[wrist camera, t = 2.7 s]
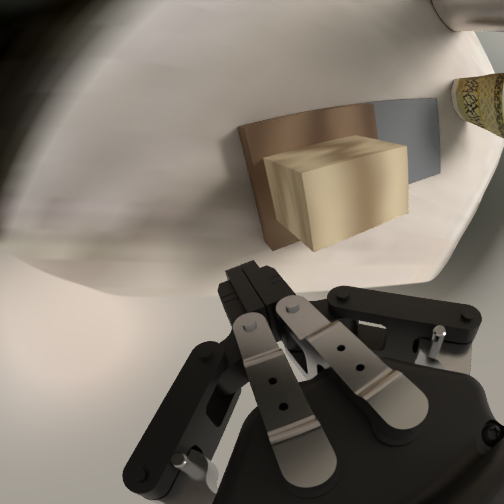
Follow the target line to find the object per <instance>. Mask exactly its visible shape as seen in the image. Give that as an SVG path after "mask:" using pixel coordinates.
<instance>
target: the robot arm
mask: <svg viewBox="0 0 504 504" xmlns="http://www.w3.org/2000/svg"><path fill="white" fill-rule="evenodd" d="M432 3H433V6H434V8H435V10H436V12H437V13H438V15H439V17H440V18H441V19H442V21H443V22H444V23H445V24H446V25H447V26H448V27H449V28H450V29H452V30H453V31H494V32H504V0H432ZM225 272H226V276H227V279H228V281H225V282H223V283H220V284H219V287H218V294H219V296H220V299H221V302H222V304H223V307H224V309H225V312H226V314H227V317H228V319H229V321H230V324H231V326H232V330H231V333H230V334H229V336H228V337H227V338H226V339H225V340H223V341H222V342H220V343H217V342H214V341H207V342H203V343H201V344H199V345H197V346H196V347H195V348H194V349H193V350H192V352H191V354H190V356H189V357H188V359H187V360H186V362H185V364H184V366H183V367H182V369H181V371H180V372H179V374H178V376H177V378H176V379H175V381H174V383H173V385H172V386H171V388H170V390H169V391H168V393H167V395H166V397H165V398H164V400H163V402H162V403H161V405H160V407H159V409H158V410H157V412H156V414H155V416H154V417H153V419H152V421H151V423H150V424H149V426H148V428H147V429H146V431H145V433H144V435H143V436H142V438H141V440H140V442H139V443H138V445H137V447H136V448H135V450H134V452H133V454H132V455H131V457H130V459H129V461H128V462H127V464H126V466H125V468H124V470H123V474H122V476H123V482H124V484H125V486H126V487H127V488H128V489H129V490H130V491H132V492H134V493H137V494H139V495H141V496H143V497H144V498H146V499H148V500H151V501H153V502H156V503H159V504H504V426H503V425H501V424H499V423H498V422H497V421H496V420H495V418H494V416H493V414H492V412H491V410H490V408H489V405H488V402H487V398H486V394H485V391H484V389H483V387H482V386H481V384H480V383H479V382H478V381H477V380H475V378H473V377H471V376H470V367H471V353H472V343H473V340H474V338H475V336H476V334H477V331H478V329H479V326H480V324H481V321H482V317H481V314H480V312H479V311H478V310H477V309H476V308H475V307H473V306H471V305H467V304H460V303H453V302H446V301H439V300H433V299H426V298H419V297H412V296H406V295H400V294H394V293H387V292H380V291H375V290H369V289H363V288H357V287H350V286H339V287H335V288H333V289H332V290H331V291H330V292H329V293H328V295H327V299H323V300H318V301H308V300H306V299H305V298H304V297H302V296H298V295H296V294H295V293H294V292H293V291H292V289H291V288H290V287H289V286H288V284H287V283H286V282H285V281H284V280H283V278H282V277H281V276H280V275H279V274H278V272H277V271H276V270H275V269H274V268H271V267H269V266H264V267H261V268H259V267H258V265H257V264H256V263H255V261H254V260H252V261H250V262H247V263H244V264H242V265H240V266H237V267H234V268H231V269H229V270H226V271H225ZM359 320H360V321H365V322H370V323H375V324H381V325H383V326H385V327H386V328H387V329H384V328H379V327H373V326H368V325H363V324H359ZM281 340H282V342H283V344H284V346H285V350H286V353H287V354H288V356H289V357H290V358H291V359H292V361H293V362H294V364H295V365H296V366H297V367H298V369H299V370H300V371H301V373H302V374H303V375H304V376H305V378H306V379H307V381H303V382H298V381H297V379H296V377H295V375H294V373H293V371H292V369H291V367H290V365H289V363H288V360H287V358H286V356H285V354H284V352H283V350H282V349H279V347H278V344H277V342H278V341H281ZM248 382H250V385H251V388H252V391H253V393H254V396H255V399H256V402H257V405H258V406H257V407H256V408H255V409H254V410H253V411H252V412H251V413H250V414H249V415H248V417H247V418H246V419H245V421H244V423H243V425H242V428H241V430H240V433H239V436H238V439H237V442H236V444H235V447H234V449H233V452H232V455H231V457H230V460H229V463H228V466H227V468H226V471H225V473H224V476H223V478H222V481H221V483H220V486H219V488H218V490H217V479H218V470H217V467H216V466H215V465H214V463H212V462H211V460H212V457H213V455H214V453H215V451H216V449H217V446H218V444H219V442H220V439H221V437H222V435H223V433H224V431H225V428H226V426H227V424H228V422H229V419H230V417H231V415H232V412H233V410H234V407H235V405H236V403H237V400H238V398H239V396H240V393H241V387H243V386H244V385H245V384H246V383H248Z"/></svg>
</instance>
